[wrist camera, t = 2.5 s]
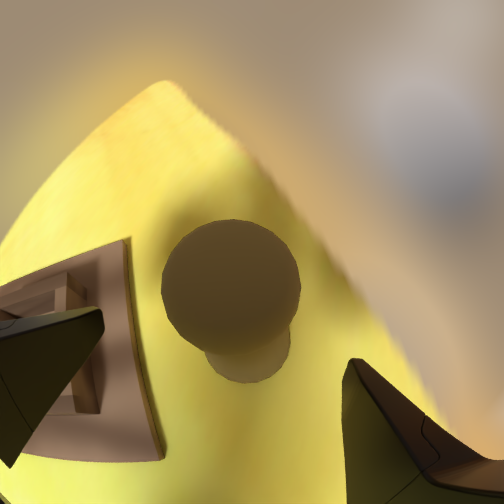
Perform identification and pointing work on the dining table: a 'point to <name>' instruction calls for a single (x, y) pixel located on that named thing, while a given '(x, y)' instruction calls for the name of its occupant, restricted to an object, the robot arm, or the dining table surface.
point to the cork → (233, 297)
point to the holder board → (91, 362)
